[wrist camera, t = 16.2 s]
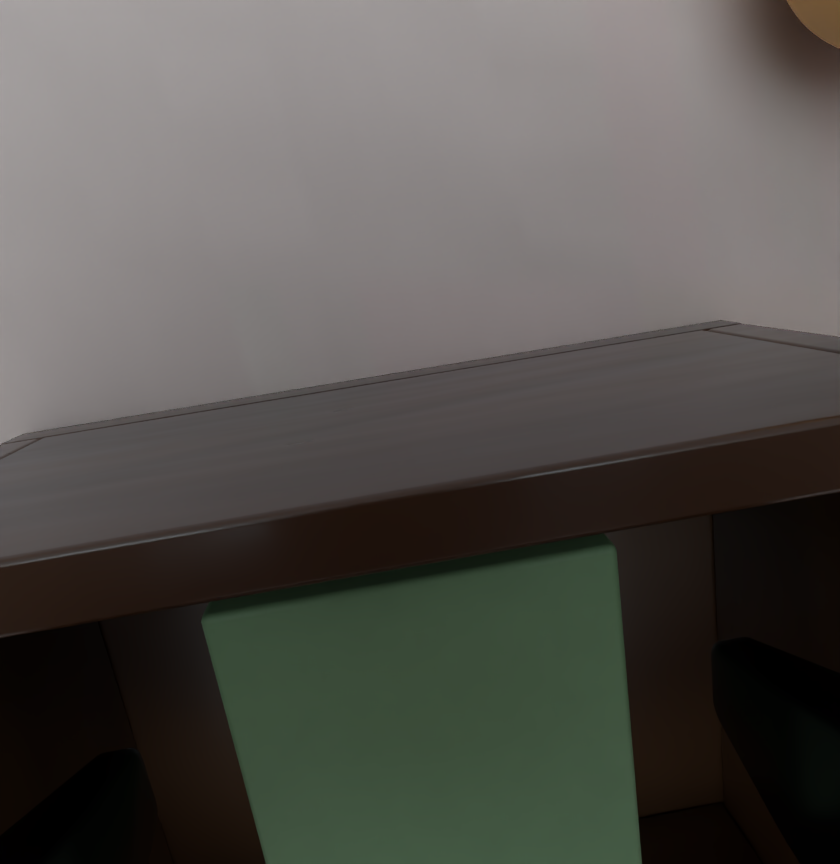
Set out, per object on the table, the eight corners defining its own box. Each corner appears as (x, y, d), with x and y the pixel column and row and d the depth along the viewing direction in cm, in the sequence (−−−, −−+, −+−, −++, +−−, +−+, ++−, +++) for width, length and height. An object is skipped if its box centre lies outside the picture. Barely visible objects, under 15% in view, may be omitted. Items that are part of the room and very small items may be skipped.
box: (21, 433, 11) (-404, 628, 5) (721, 319, 11) (1114, 370, 5) (171, 902, 14) (11, 1404, 8) (737, 795, 14) (1013, 1187, 8)
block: (547, 662, 12) (644, 876, 8) (315, 704, 12) (284, 945, 8) (522, 439, 11) (618, 544, 7) (266, 481, 11) (197, 618, 6)
